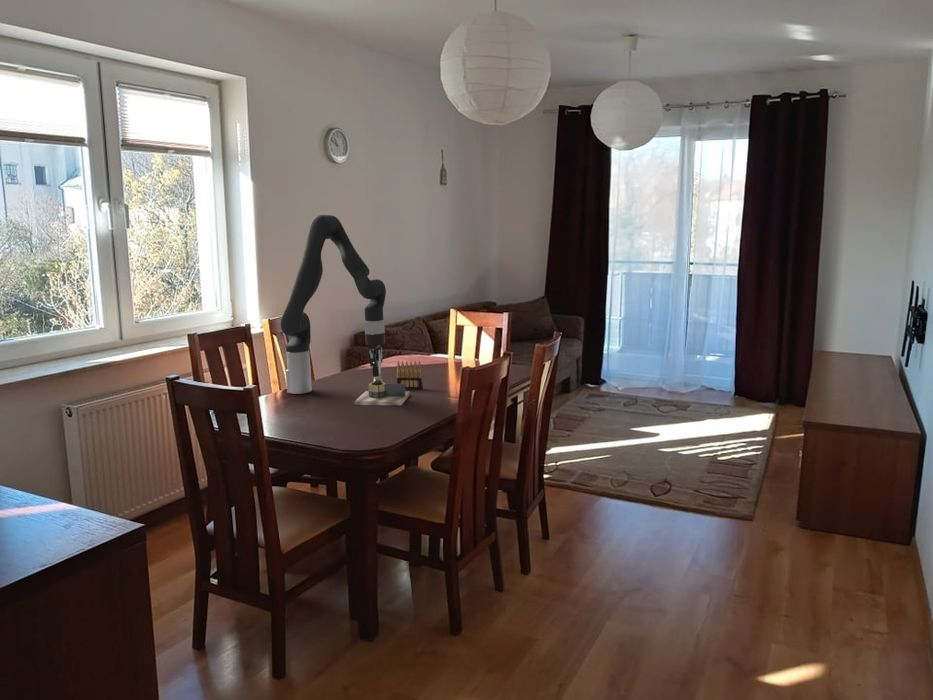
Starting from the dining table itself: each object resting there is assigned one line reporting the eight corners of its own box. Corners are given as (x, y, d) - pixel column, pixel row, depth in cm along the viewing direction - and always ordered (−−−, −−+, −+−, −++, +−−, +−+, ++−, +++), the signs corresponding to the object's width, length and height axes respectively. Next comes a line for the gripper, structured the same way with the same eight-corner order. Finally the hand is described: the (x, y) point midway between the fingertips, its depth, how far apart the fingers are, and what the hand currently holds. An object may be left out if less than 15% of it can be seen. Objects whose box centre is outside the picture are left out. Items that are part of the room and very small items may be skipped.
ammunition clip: (396, 389, 303) (395, 361, 301) (397, 388, 305) (396, 360, 303) (422, 389, 302) (421, 361, 300) (423, 388, 304) (422, 360, 302)
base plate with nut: (355, 404, 280) (354, 388, 279) (366, 394, 296) (365, 378, 295) (401, 405, 278) (400, 388, 277) (409, 395, 293) (409, 379, 292)
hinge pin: (373, 386, 285) (371, 356, 283) (374, 384, 288) (373, 354, 286) (380, 386, 284) (379, 356, 282) (382, 384, 287) (380, 354, 285)
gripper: (370, 328, 290) (372, 371, 293) (360, 334, 276) (362, 379, 279) (388, 328, 289) (390, 371, 292) (379, 334, 275) (382, 379, 278)
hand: (377, 375), depth 285 cm, fingers closed on hinge pin, 3 cm apart
